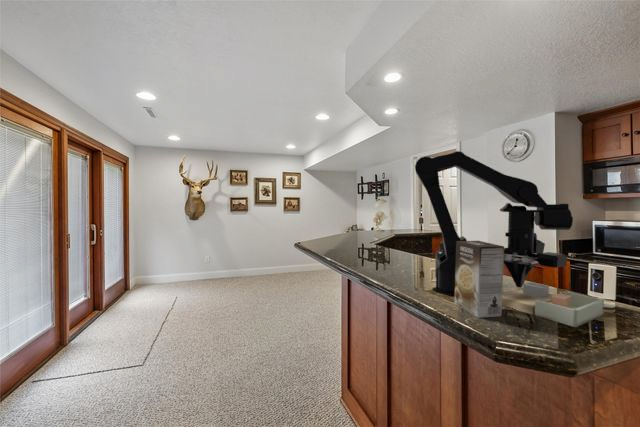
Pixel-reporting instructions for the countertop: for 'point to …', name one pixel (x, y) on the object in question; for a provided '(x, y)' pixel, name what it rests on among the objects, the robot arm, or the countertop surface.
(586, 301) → the tray
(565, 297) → the tile terracotta
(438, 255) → the supplement bottle
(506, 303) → the deck
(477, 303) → the coffee box
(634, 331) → the countertop surface
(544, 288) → the tile slate
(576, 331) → the countertop surface
